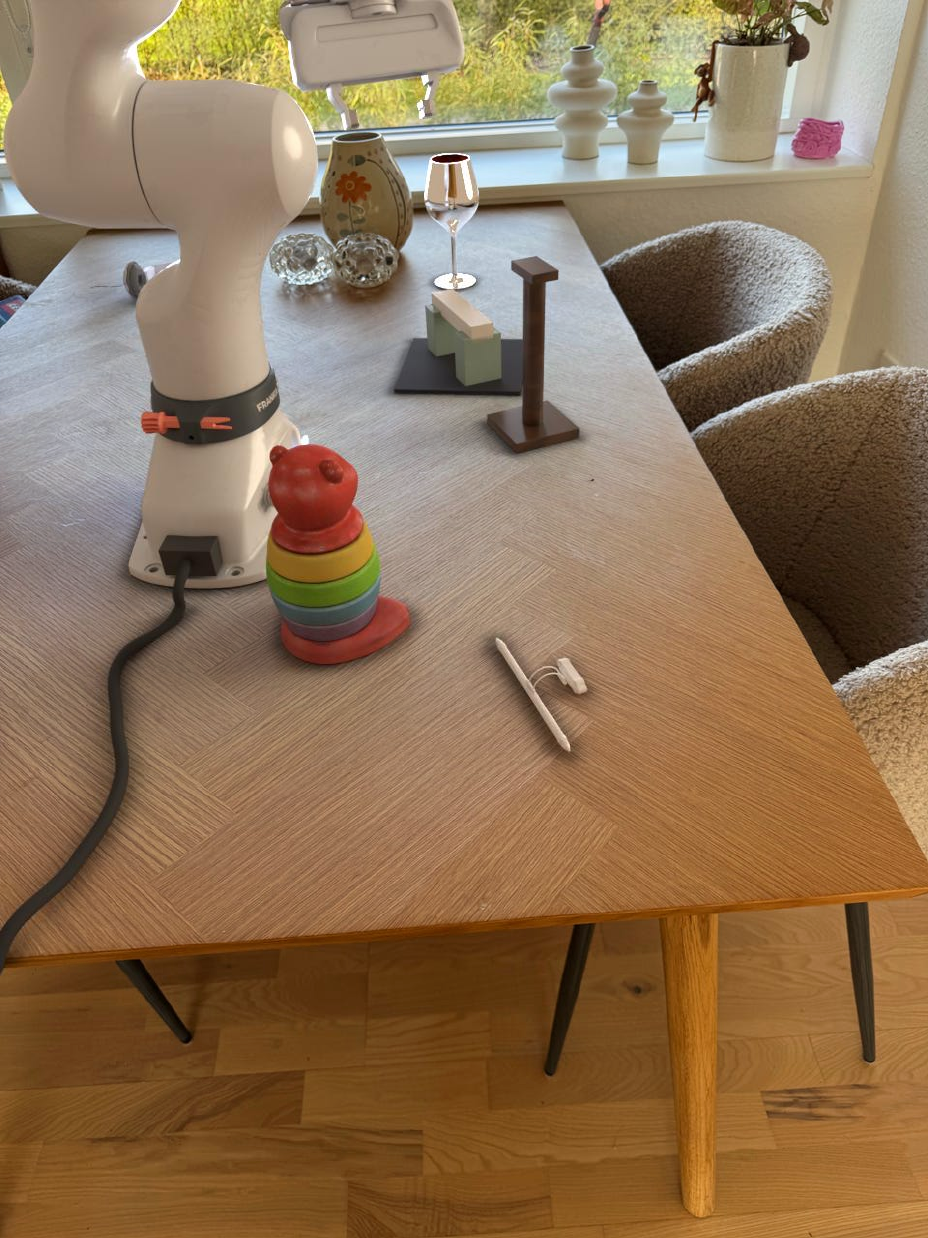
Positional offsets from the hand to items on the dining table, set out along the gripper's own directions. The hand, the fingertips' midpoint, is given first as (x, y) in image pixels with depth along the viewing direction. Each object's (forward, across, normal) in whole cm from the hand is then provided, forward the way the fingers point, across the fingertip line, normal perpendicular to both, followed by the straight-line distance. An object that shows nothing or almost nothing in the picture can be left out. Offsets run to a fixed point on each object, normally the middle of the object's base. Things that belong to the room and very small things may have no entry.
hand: (390, 122), depth 108 cm
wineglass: (+19, +15, +30) cm, 39 cm away
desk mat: (+29, +4, +3) cm, 30 cm away
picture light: (+51, -12, -53) cm, 74 cm away
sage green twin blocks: (+29, +5, +3) cm, 29 cm away
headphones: (+12, -27, +46) cm, 55 cm away
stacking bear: (+45, -25, -40) cm, 65 cm away
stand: (+36, +5, -16) cm, 40 cm away
